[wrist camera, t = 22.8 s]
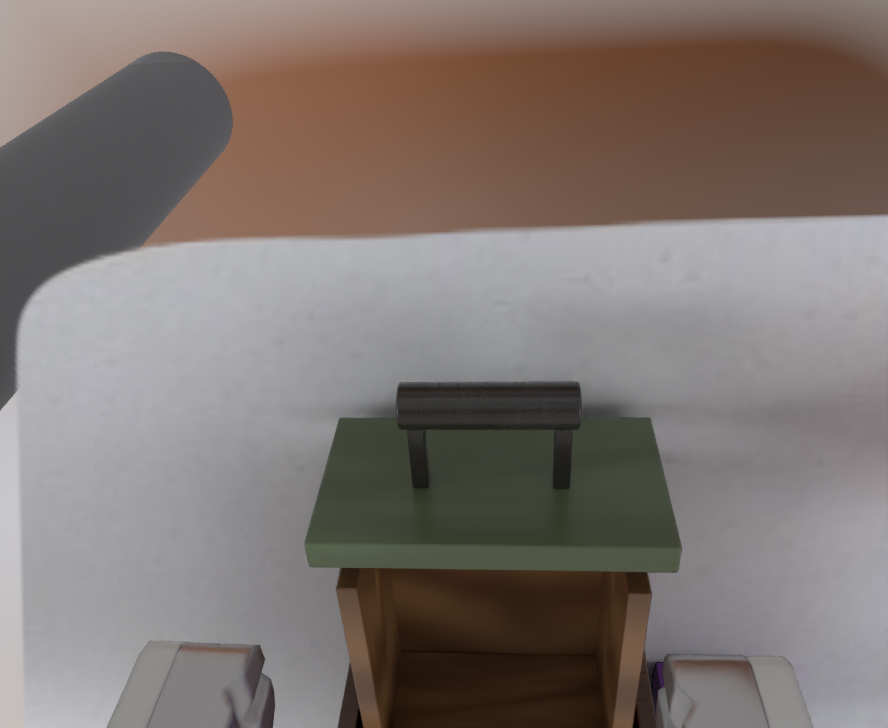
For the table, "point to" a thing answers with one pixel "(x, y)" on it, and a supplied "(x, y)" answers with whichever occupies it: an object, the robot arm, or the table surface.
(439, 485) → the drawer
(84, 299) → the table surface
